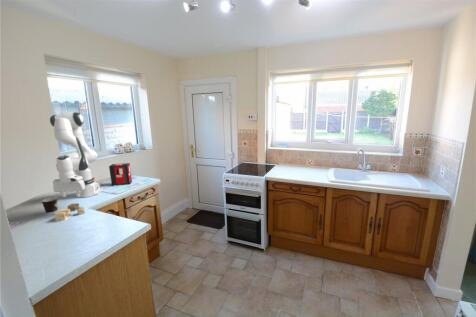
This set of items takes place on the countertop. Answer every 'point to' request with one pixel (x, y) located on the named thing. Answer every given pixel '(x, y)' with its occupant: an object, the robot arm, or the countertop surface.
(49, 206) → the coffee mug
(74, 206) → the walnut cube
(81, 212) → the maple dowel
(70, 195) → the countertop surface
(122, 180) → the cleaning product box
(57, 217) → the oak block
